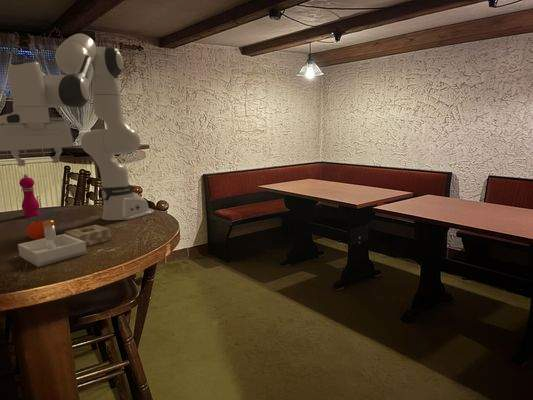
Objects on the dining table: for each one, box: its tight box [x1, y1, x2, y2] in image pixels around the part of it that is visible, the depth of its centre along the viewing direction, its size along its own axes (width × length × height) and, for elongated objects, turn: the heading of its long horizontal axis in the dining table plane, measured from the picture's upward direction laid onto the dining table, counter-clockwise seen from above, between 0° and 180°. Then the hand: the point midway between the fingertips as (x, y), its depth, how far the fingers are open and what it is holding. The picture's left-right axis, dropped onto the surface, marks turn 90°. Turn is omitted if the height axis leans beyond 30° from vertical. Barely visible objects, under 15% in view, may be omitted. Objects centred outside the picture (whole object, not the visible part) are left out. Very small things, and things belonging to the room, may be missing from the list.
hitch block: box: [64, 224, 112, 247], centre depth 134 cm, size 11×11×4 cm
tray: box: [17, 233, 88, 268], centre depth 119 cm, size 14×16×4 cm
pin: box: [42, 219, 58, 250], centre depth 119 cm, size 3×3×10 cm
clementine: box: [26, 220, 45, 241], centre depth 138 cm, size 8×7×7 cm
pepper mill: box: [18, 173, 40, 218], centre depth 180 cm, size 7×7×20 cm
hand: (39, 164), depth 114 cm, fingers open, 8 cm apart
